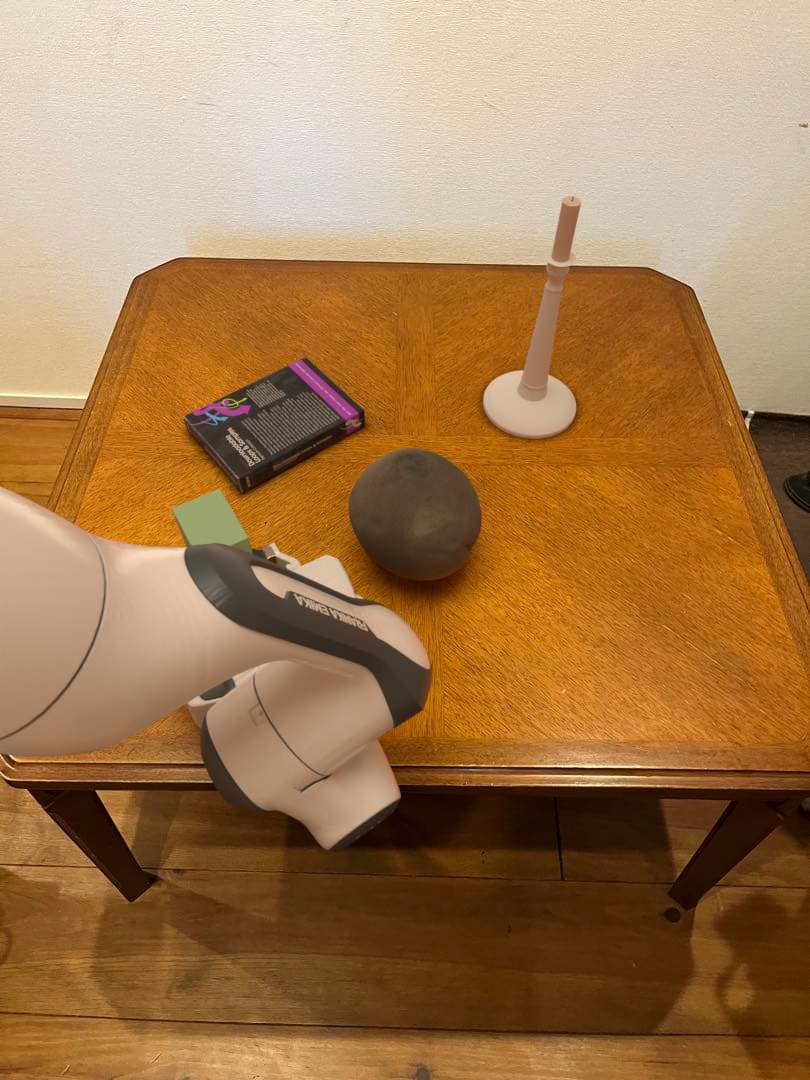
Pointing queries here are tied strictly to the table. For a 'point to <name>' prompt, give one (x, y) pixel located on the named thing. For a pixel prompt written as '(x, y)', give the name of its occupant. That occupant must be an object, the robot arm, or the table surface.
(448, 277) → the table surface
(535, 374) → the candlestick
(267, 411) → the box
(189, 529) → the green box
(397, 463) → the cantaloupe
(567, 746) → the table surface
